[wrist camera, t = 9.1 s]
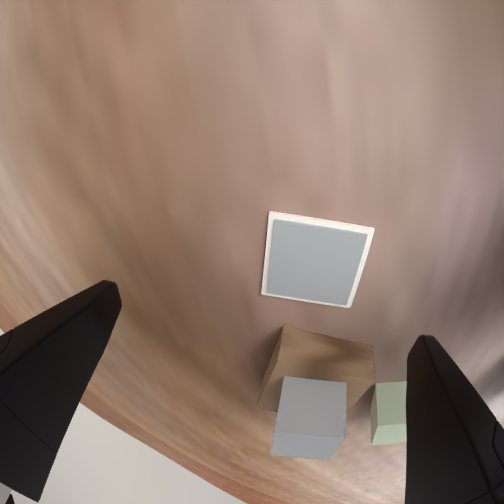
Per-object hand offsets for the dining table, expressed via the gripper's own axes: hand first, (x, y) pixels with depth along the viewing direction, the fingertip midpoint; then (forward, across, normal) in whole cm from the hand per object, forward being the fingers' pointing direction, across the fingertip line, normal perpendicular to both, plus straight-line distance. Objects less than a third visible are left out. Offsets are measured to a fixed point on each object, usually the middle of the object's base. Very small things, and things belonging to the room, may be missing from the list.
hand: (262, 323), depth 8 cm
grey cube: (+8, -4, +17) cm, 19 cm away
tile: (+12, -2, +6) cm, 14 cm away
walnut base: (+12, -4, +17) cm, 21 cm away
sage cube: (+12, -14, +21) cm, 28 cm away
